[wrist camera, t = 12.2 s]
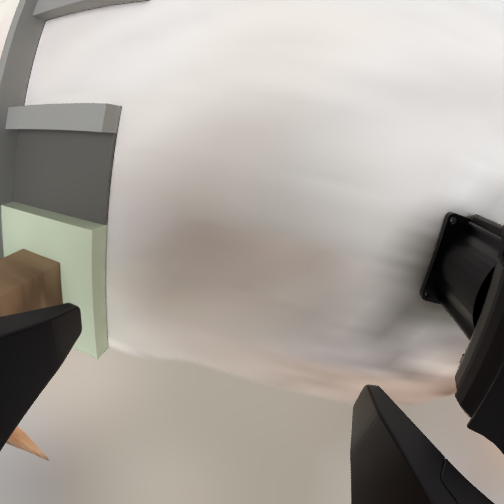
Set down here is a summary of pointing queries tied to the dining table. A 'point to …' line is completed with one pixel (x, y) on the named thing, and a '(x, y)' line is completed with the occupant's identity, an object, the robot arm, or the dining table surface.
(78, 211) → the tray
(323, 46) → the dining table surface
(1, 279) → the walnut block
